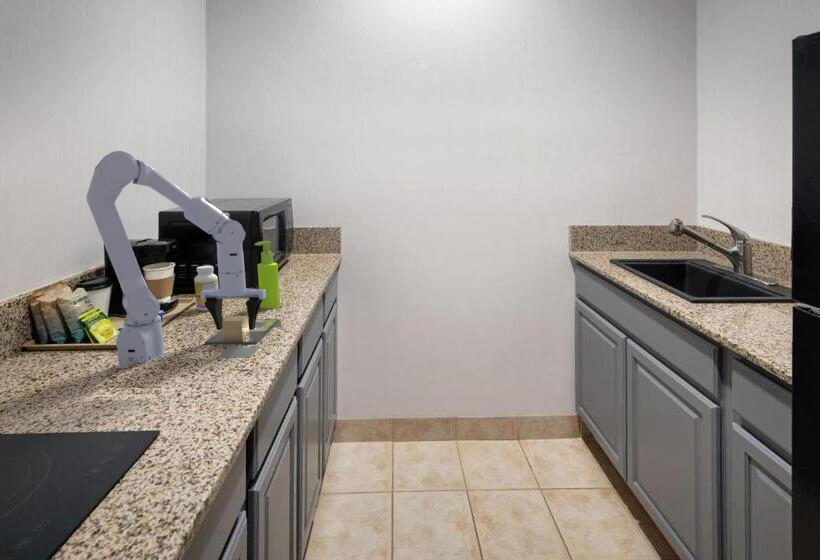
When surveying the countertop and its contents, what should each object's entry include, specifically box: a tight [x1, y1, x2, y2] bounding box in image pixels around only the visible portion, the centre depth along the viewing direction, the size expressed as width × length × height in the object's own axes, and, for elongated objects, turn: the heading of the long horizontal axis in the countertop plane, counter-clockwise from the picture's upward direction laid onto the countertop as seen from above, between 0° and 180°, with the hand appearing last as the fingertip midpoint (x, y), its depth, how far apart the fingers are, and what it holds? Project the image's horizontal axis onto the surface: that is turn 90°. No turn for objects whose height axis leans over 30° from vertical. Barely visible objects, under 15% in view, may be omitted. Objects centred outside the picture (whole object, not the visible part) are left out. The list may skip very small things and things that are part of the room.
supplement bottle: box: [193, 265, 220, 312], centre depth 165 cm, size 7×7×13 cm
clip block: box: [222, 315, 249, 340], centre depth 128 cm, size 4×4×4 cm
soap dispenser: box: [254, 240, 281, 309], centre depth 166 cm, size 6×7×20 cm
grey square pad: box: [216, 346, 261, 359], centre depth 119 cm, size 7×7×2 cm
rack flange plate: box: [204, 318, 282, 345], centre depth 135 cm, size 20×12×2 cm, turn 178°
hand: (236, 328), depth 128 cm, fingers open, 7 cm apart
